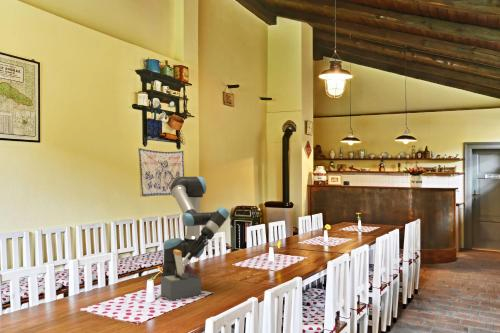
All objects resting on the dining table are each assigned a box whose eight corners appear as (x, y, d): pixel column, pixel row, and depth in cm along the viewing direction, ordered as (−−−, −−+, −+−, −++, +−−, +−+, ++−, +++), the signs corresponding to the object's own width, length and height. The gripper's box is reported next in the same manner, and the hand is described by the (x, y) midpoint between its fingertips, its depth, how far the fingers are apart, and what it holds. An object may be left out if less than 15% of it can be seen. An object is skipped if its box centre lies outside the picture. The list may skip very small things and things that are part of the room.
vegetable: (183, 293, 262) (177, 269, 259) (181, 286, 272) (176, 263, 269) (201, 287, 264) (195, 264, 262) (198, 281, 274) (193, 258, 271)
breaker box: (160, 295, 246) (161, 271, 246) (190, 290, 256) (190, 267, 256) (170, 300, 235) (170, 276, 235) (201, 295, 245) (201, 272, 245)
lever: (177, 275, 248) (172, 250, 247) (180, 274, 249) (176, 249, 248) (182, 278, 242) (178, 252, 241) (185, 276, 244) (181, 251, 242)
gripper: (219, 235, 251) (193, 269, 241) (208, 233, 261) (182, 266, 252) (211, 227, 248) (184, 261, 238) (199, 225, 258) (174, 257, 249)
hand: (183, 263), depth 245 cm, fingers closed
